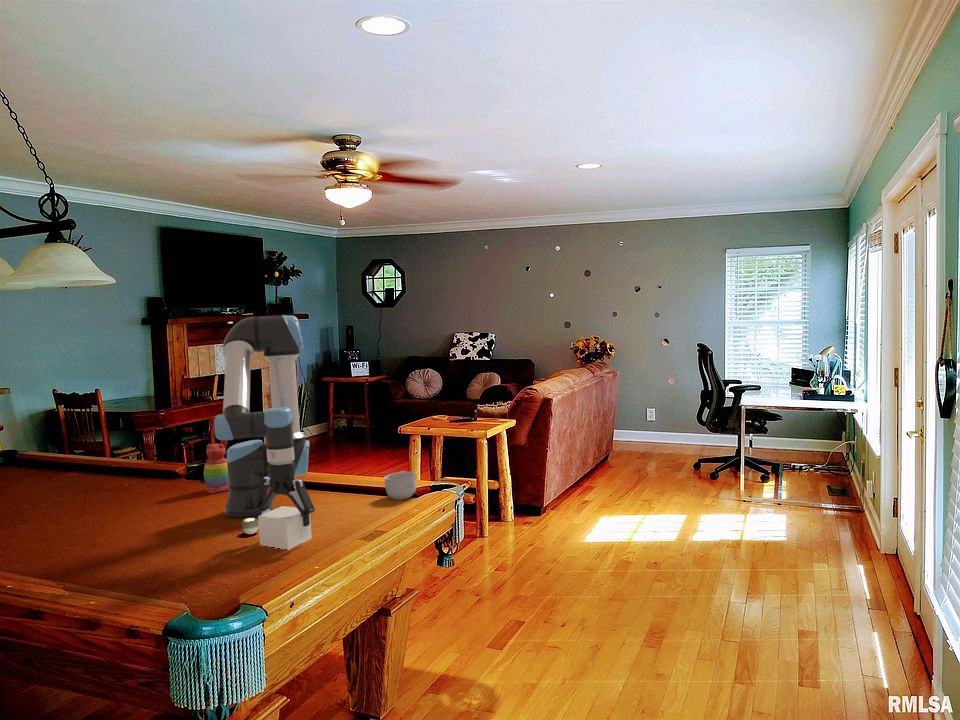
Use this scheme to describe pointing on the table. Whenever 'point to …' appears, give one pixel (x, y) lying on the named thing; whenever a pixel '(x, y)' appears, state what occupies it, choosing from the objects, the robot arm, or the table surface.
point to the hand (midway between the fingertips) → (286, 534)
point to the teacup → (400, 485)
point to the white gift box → (281, 528)
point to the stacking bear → (216, 468)
